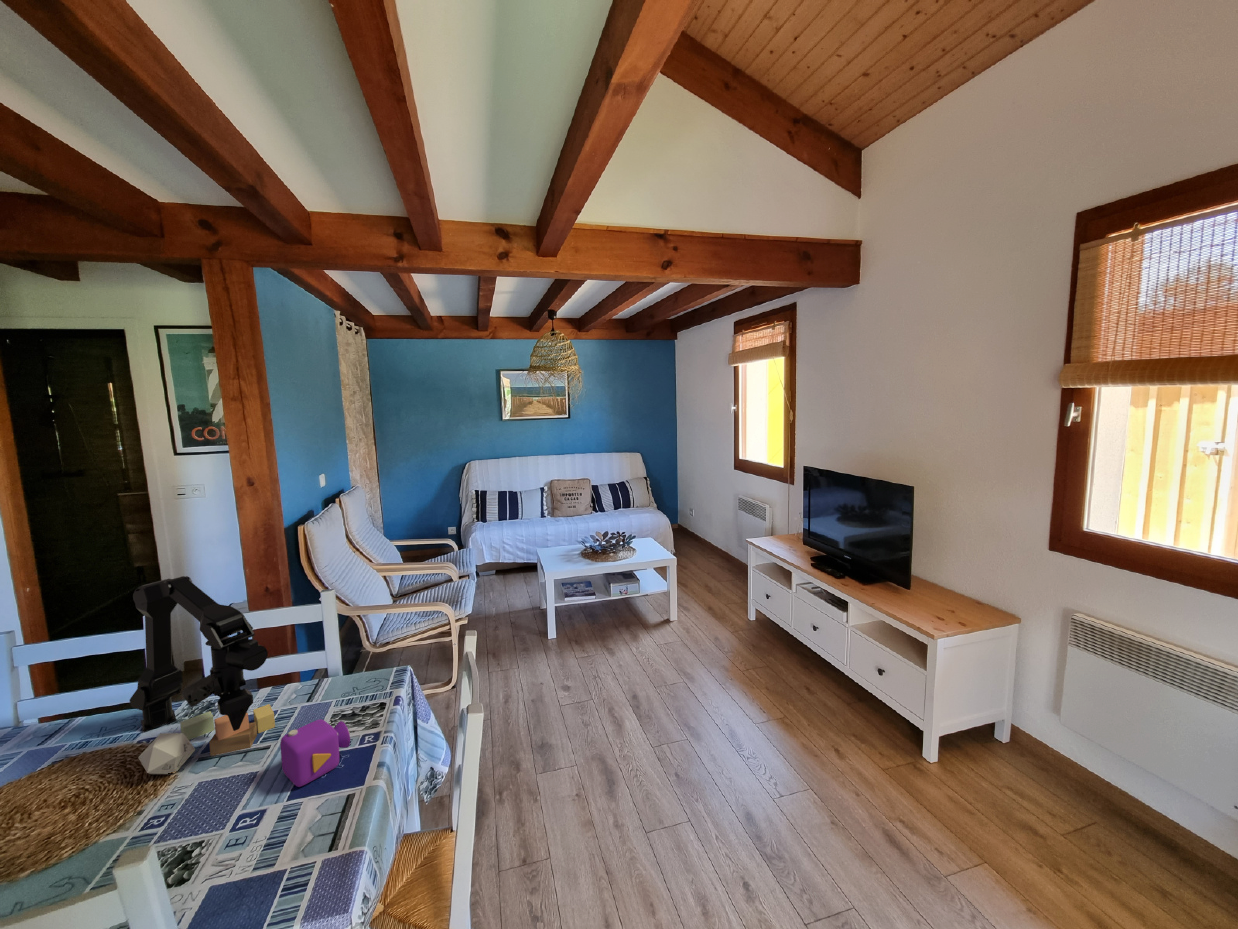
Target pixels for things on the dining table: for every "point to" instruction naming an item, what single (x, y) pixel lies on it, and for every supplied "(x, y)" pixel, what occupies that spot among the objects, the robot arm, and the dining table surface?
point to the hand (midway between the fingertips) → (232, 722)
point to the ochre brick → (264, 718)
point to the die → (166, 753)
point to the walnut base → (234, 741)
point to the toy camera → (312, 750)
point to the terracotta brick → (228, 727)
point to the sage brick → (197, 725)
